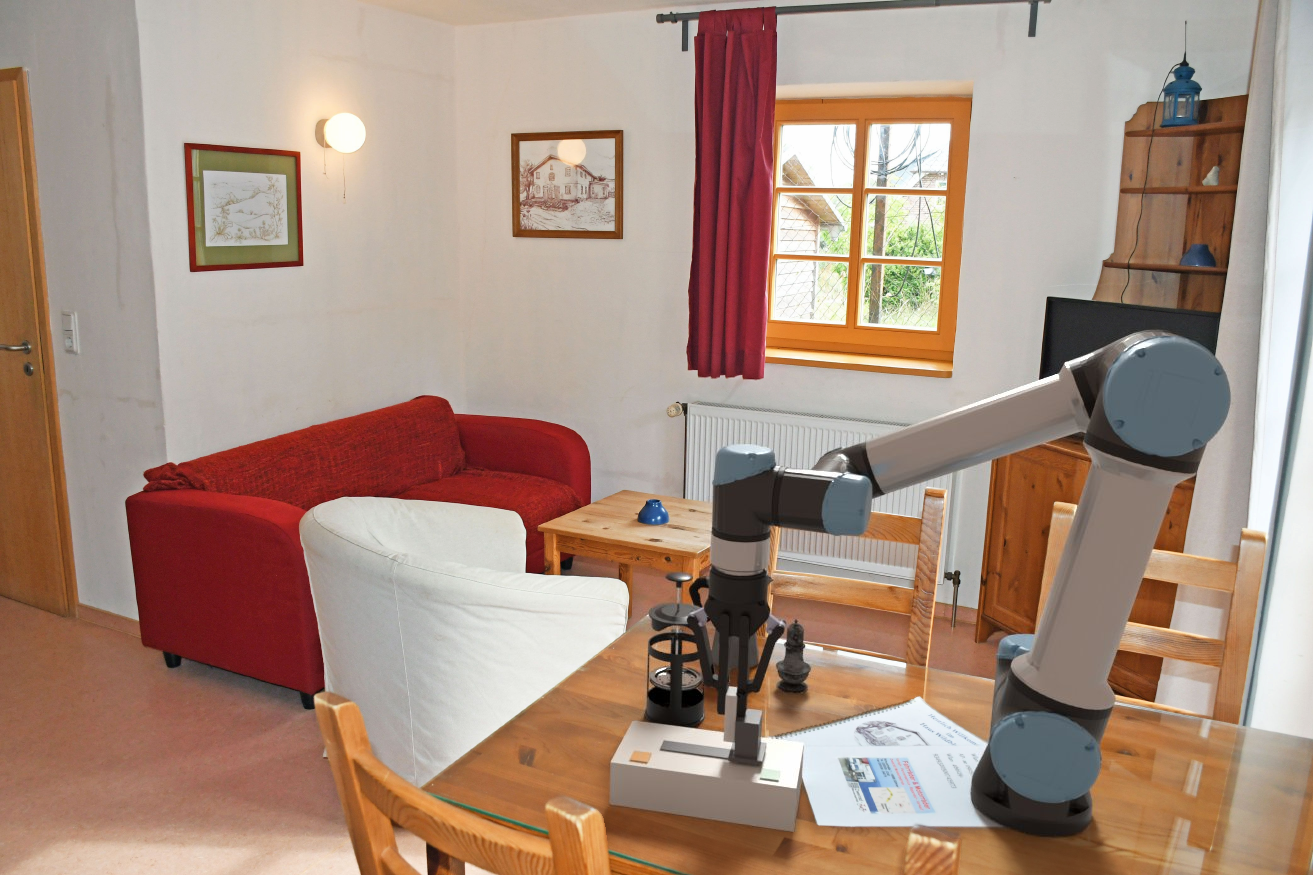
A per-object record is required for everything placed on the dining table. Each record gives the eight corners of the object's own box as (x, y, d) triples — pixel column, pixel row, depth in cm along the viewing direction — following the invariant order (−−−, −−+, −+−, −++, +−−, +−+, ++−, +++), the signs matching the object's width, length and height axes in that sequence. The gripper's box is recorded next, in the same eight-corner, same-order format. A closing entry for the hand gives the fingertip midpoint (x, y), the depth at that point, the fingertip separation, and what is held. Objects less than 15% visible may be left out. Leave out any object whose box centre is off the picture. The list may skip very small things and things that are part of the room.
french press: (705, 732, 151) (711, 587, 146) (643, 730, 151) (647, 585, 146) (703, 697, 162) (708, 562, 158) (645, 695, 162) (649, 560, 158)
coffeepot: (760, 645, 184) (764, 552, 180) (778, 666, 175) (783, 568, 171) (679, 652, 180) (682, 556, 176) (694, 674, 171) (697, 573, 168)
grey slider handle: (766, 746, 133) (768, 709, 132) (762, 765, 129) (763, 726, 128) (733, 742, 134) (735, 705, 133) (728, 760, 130) (729, 722, 129)
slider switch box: (801, 782, 137) (804, 741, 136) (793, 831, 126) (796, 786, 124) (632, 759, 142) (632, 718, 141) (609, 804, 131) (610, 760, 129)
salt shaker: (771, 691, 165) (775, 622, 163) (778, 676, 171) (781, 610, 168) (807, 696, 164) (811, 627, 161) (812, 681, 169) (816, 614, 167)
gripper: (793, 562, 129) (782, 730, 134) (694, 552, 132) (687, 717, 137) (787, 580, 122) (776, 757, 127) (683, 570, 125) (676, 743, 129)
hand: (730, 736), depth 132 cm, fingers closed
